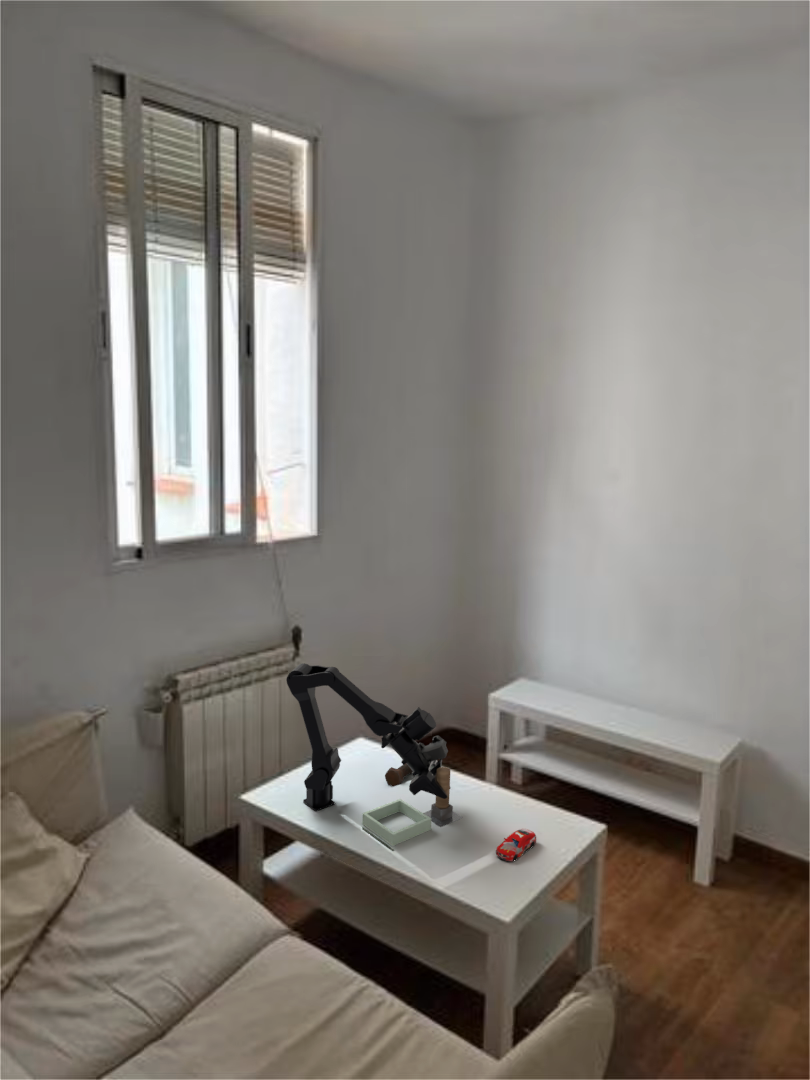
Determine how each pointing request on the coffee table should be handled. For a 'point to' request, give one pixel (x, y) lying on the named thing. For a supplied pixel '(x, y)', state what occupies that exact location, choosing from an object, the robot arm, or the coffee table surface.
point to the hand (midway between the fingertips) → (447, 793)
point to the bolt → (397, 775)
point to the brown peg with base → (442, 806)
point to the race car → (516, 845)
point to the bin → (400, 835)
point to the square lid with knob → (444, 822)
